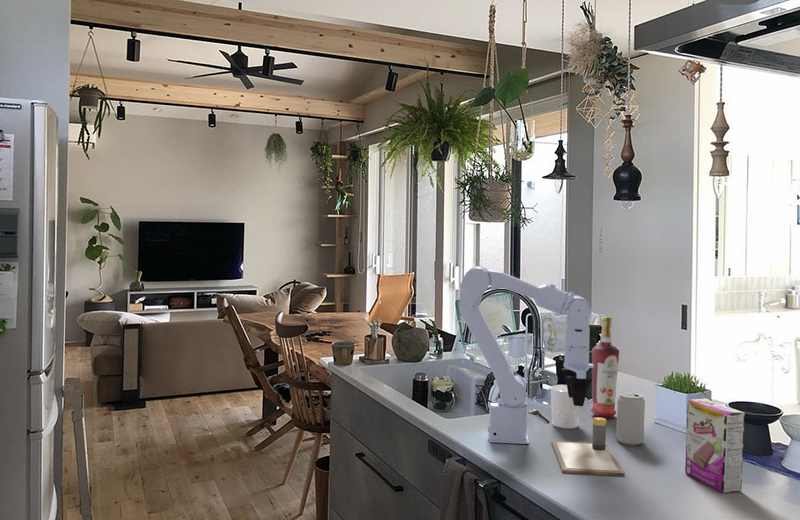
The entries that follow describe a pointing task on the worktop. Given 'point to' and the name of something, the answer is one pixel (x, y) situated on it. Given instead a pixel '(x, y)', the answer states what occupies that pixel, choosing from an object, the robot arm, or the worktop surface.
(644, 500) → the worktop surface
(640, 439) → the beverage can
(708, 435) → the candy bar box
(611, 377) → the liquor
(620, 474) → the writing board
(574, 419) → the white cup
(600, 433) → the grey yellow rounded cylinder
